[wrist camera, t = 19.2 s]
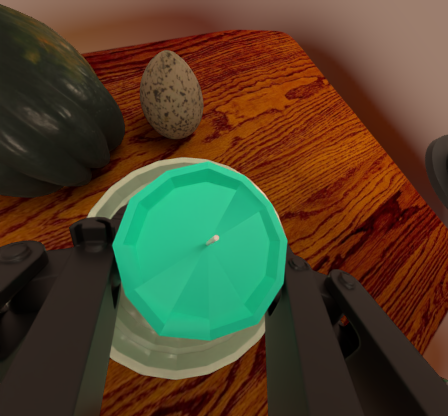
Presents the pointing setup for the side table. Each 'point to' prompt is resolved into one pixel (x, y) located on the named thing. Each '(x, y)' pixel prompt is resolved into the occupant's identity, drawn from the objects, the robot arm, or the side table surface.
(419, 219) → the side table surface
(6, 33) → the squash
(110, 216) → the bowl
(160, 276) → the candle
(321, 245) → the side table surface
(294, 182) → the side table surface
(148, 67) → the decorative egg
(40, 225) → the side table surface
